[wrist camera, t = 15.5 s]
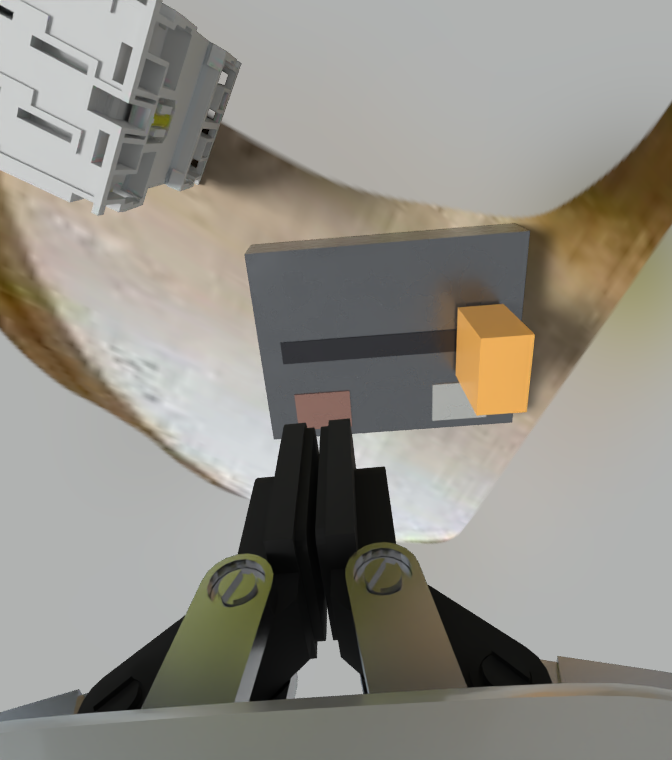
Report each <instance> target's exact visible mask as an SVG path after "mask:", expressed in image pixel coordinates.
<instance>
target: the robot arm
mask: <svg viewBox="0 0 672 760" xmlns="http://www.w3.org/2000/svg"><path fill="white" fill-rule="evenodd" d="M327 609H328V614H329V620H330V625H331V631H332V636H333V640H338V642H339V649H340V654H341V657H342V658H343V659H344V660H345V661H346V662H347V663H348V664H349V665H351V666H352V667H353V668H354V669H355V670H356V671H357V672H359V673H360V680H361V685H362V690H363V694H358V695H343V696H328V697H312V698H297V699H295V694H296V689H297V680H298V676H297V671H298V670H299V669H300V668H301V667H303V666H304V665H305V664H306V663H307V661H309V659H313V658H317V641H326V627H327ZM0 760H672V673H669V672H663V671H656V670H649V669H643V668H635V667H629V666H622V665H616V664H609V663H602V662H594V661H589V660H582V659H575V658H568V657H561V656H557V662H553V661H546V660H540V659H539V658H538V657H537V656H536V655H535V654H534V653H532V652H531V651H530V650H529V649H528V648H526V647H525V646H523V645H522V644H520V643H519V642H517V641H516V640H514V639H512V638H511V637H509V636H508V635H506V634H505V633H503V632H501V631H500V630H498V629H497V628H495V627H494V626H492V625H491V624H489V623H487V622H486V621H484V620H483V619H481V618H480V617H478V616H476V615H475V614H473V613H472V612H470V611H469V610H467V609H465V608H464V607H462V606H461V605H459V604H457V603H456V602H454V601H453V600H451V599H450V598H448V597H446V596H445V595H443V594H442V593H440V592H439V591H437V590H436V589H434V588H432V587H431V586H429V585H427V582H426V580H425V577H424V575H423V572H422V569H421V567H420V564H419V562H418V560H417V559H416V557H415V556H414V554H412V553H411V552H410V551H409V550H407V549H406V548H405V547H402V546H400V545H398V544H396V540H395V533H394V526H393V519H392V512H391V505H390V498H389V491H388V484H387V477H386V470H385V467H374V468H363V469H356V464H355V456H354V447H353V439H352V430H351V422H350V418H347V419H337V420H329V422H328V426H323V427H321V431H320V449H319V450H318V444H317V437H316V431H315V428H314V427H312V428H307V424H306V422H305V423H295V424H285V425H284V427H283V432H282V438H281V444H280V449H279V455H278V460H277V466H276V471H275V477H264V478H257V479H256V480H255V483H254V487H253V491H252V495H251V499H250V504H249V508H248V512H247V517H246V521H245V525H244V530H243V534H242V538H241V542H240V547H239V551H238V554H237V555H234V556H231V557H228V558H225V559H224V560H222V561H220V562H218V563H217V564H215V565H214V566H213V567H212V568H211V569H210V570H209V571H208V572H207V573H206V575H205V576H204V578H203V580H202V581H201V583H200V585H199V588H198V590H197V592H196V594H195V596H194V598H193V600H192V602H191V604H190V606H189V608H188V611H187V613H186V615H185V616H184V617H182V618H181V619H180V620H179V621H177V622H176V623H174V624H173V625H172V626H170V627H169V628H168V629H166V630H165V631H164V632H163V633H161V634H160V635H159V636H157V637H156V638H155V639H153V640H152V641H151V642H150V643H148V644H147V645H145V646H144V647H143V648H142V649H140V650H139V651H138V652H136V653H135V654H134V655H132V656H131V657H130V658H128V659H127V660H126V661H124V662H123V663H122V664H121V665H119V666H118V667H117V668H115V669H114V670H113V671H111V672H110V673H109V674H107V675H106V676H105V677H103V678H102V679H101V680H100V681H99V682H98V683H97V684H96V685H95V686H94V687H93V688H92V689H91V690H90V692H89V693H86V694H83V695H82V693H81V692H80V690H79V689H78V690H74V691H72V692H68V693H64V694H61V695H57V696H54V697H51V698H47V699H44V700H40V701H37V702H34V703H30V704H27V705H23V706H20V707H17V708H13V709H10V710H7V711H3V712H0Z"/></svg>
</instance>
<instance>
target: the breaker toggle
mask: <svg viewBox="0 0 672 760" xmlns="http://www.w3.org/2000/svg"><path fill="white" fill-rule="evenodd" d="M534 339H535V334H534V333H533V332H532V331H531V330H530V329H529V328H528V327H527V326H526V325H525V324H524V323H523V322H522V321H521V320H520V319H518V318H517V317H516V316H515V315H514V314H513V313H512V312H511V311H510V310H509V309H508V308H507V307H506V306H505V305H504V304H495V305H482V306H469V307H458V316H457V347H456V377H457V379H458V381H459V383H460V385H461V387H462V389H463V391H464V392H465V394H466V396H467V398H468V400H469V402H470V404H471V406H472V408H473V410H474V412H475V414H476V415H477V416H478V415H492V414H506V413H520V412H527V404H528V394H529V385H530V376H531V366H532V357H533V348H534Z"/></svg>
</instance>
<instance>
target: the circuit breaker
mask: <svg viewBox="0 0 672 760" xmlns="http://www.w3.org/2000/svg"><path fill="white" fill-rule="evenodd" d="M196 30H197V27H196V26H195V25H194V24H192V23H191V22H190V21H189V20H188V19H186V18H185V17H184V16H183V15H181V14H180V13H178V12H177V11H175V10H174V9H172V8H170V7H169V6H167V5H165V4H163V3H162V0H0V170H1V171H4V172H6V173H8V174H10V175H12V176H14V177H16V178H19V179H21V180H23V181H25V182H27V183H29V184H31V185H34V186H36V187H38V188H40V189H42V190H44V191H46V192H49V193H51V194H53V195H55V196H57V197H59V198H61V199H64V200H66V201H68V202H73V201H77V200H81V199H87V200H89V201H91V202H93V203H94V204H93V208H92V212H91V213H94V214H96V215H103V214H104V210H105V207H109V208H111V209H113V210H115V211H117V212H124V211H127V210H130V209H133V208H136V207H138V206H141V205H143V202H144V199H145V196H146V193H147V189H148V188H151V187H155V186H158V185H162V184H166V185H167V186H168V187H171V188H173V189H175V190H178V191H182V190H185V189H188V188H190V187H193V186H194V183H195V184H197V185H199V183H200V180H201V178H202V175H203V172H204V169H205V166H206V163H207V160H208V158H209V155H210V152H211V149H212V146H213V143H214V140H215V138H216V135H217V132H218V129H219V126H220V123H221V120H222V117H223V115H224V112H225V109H226V106H227V103H228V100H229V97H230V94H231V92H232V89H233V86H234V83H235V80H236V77H237V74H238V72H239V69H240V66H241V63H240V62H239V61H237V59H236V58H234V57H233V56H232V55H231V54H229V53H228V52H227V51H225V50H224V49H222V48H220V47H218V46H217V45H215V44H213V43H211V42H209V41H208V40H207V39H206V38H204V37H203V36H202V35H200V34H199V33H198V32H197V31H196ZM222 71H223V72H225V73H227V74H228V77H227V80H226V83H225V85H222V84H218V81H219V78H220V75H221V72H222ZM209 109H211V110H213V111H215V115H214V118H213V120H212V119H210V118H208V117H207V114H208V111H209ZM202 129H210V130H209V133H208V135H206V134H205V133H203V132H201V131H202ZM192 158H193V159H195V160H197V161H199V162H198V165H197V168H196V167H194V166H192V165H190V164H191V161H192Z"/></svg>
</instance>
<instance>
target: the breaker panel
mask: <svg viewBox="0 0 672 760" xmlns="http://www.w3.org/2000/svg"><path fill="white" fill-rule="evenodd" d="M529 236H530V231H529V230H527V229H525V228H523V227H521V226H519V225H517V224H514V223H512V224H499V225H487V226H475V227H463V228H451V229H438V230H426V231H414V232H402V233H389V234H377V235H365V236H353V237H341V238H328V239H316V240H304V241H292V242H280V243H267V244H255V245H251V246H250V247H249V249H248V250H247V251H246V253H245V261H246V267H247V273H248V280H249V286H250V292H251V298H252V305H253V311H254V317H255V324H256V330H257V336H258V342H259V349H260V355H261V361H262V367H263V374H264V380H265V386H266V393H267V399H268V405H269V411H270V418H271V424H272V430H273V436H274V439H281V438H282V432H283V427H284V425H285V424H295V423H305V422H306V424H307V428H312V427H314V428H315V431H316V436H320V431H321V427H323V426H328V422H329V420H337V419H347V418H350V422H351V430H352V434H356V433H370V432H384V431H398V430H412V429H426V428H440V427H454V426H468V425H482V424H496V423H510V422H512V418H513V413H506V414H492V415H478V416H477V415H476V414H475V412H474V410H473V408H472V406H471V404H470V402H469V400H468V398H467V396H466V394H465V392H464V391H463V389H462V387H461V385H460V383H459V381H458V379H457V377H456V347H457V316H458V307H469V306H482V305H495V304H504V305H505V306H506V307H507V308H508V309H509V310H510V311H511V312H512V313H513V314H514V315H515V316H516V317H517V318H518V319H520V320H521V321H522V311H523V300H524V289H525V279H526V268H527V257H528V247H529Z"/></svg>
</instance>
